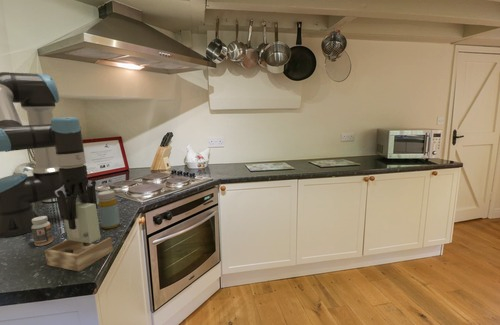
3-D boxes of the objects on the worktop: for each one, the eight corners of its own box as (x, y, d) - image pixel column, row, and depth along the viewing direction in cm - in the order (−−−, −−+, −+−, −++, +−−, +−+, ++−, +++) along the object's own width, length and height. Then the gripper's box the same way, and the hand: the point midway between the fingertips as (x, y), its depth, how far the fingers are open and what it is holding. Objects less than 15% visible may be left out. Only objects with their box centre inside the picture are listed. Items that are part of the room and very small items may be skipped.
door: (65, 240, 91) (59, 206, 89) (78, 234, 96) (73, 201, 93) (88, 244, 88) (82, 208, 86) (100, 238, 92) (95, 203, 90)
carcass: (47, 264, 88) (44, 250, 87) (83, 246, 100) (81, 233, 99) (79, 271, 83) (76, 256, 82) (113, 250, 95) (111, 237, 94)
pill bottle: (53, 243, 103) (48, 218, 101) (34, 248, 100) (29, 222, 98) (53, 238, 107) (49, 214, 106) (35, 242, 104) (30, 217, 102)
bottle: (122, 222, 120) (118, 189, 118) (115, 229, 114) (110, 194, 111) (106, 223, 120) (102, 190, 118) (98, 230, 113) (93, 195, 111)
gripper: (54, 172, 79) (67, 247, 83) (103, 161, 94) (112, 225, 98) (36, 171, 81) (50, 244, 85) (87, 161, 97) (96, 223, 101)
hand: (83, 234), depth 92 cm, fingers closed on door, 4 cm apart
